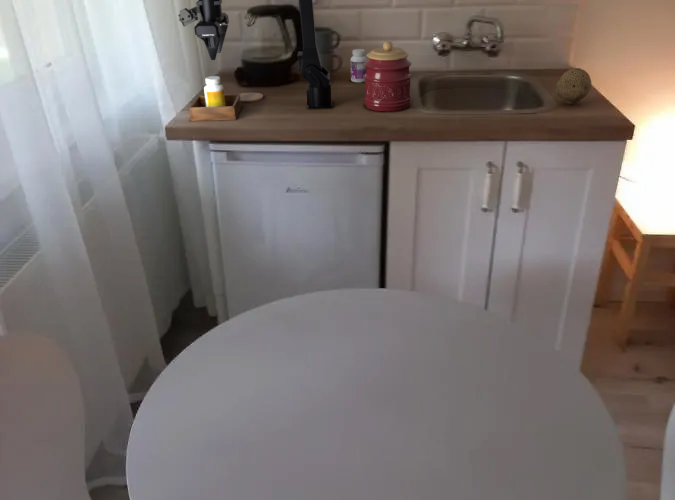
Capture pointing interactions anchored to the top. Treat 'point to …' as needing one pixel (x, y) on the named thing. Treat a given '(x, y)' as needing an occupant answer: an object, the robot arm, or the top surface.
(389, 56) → the kitchen canister
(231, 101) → the wooden tray
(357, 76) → the pill bottle
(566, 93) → the natural sponge
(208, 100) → the supplement bottle
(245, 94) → the coaster
